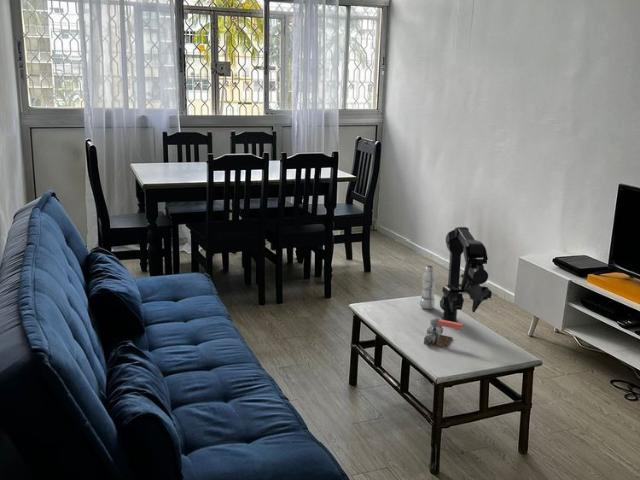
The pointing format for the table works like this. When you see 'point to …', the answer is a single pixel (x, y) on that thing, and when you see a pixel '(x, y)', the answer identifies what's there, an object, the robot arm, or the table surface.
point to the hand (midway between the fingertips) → (462, 311)
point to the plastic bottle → (428, 288)
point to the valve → (436, 337)
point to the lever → (446, 323)
